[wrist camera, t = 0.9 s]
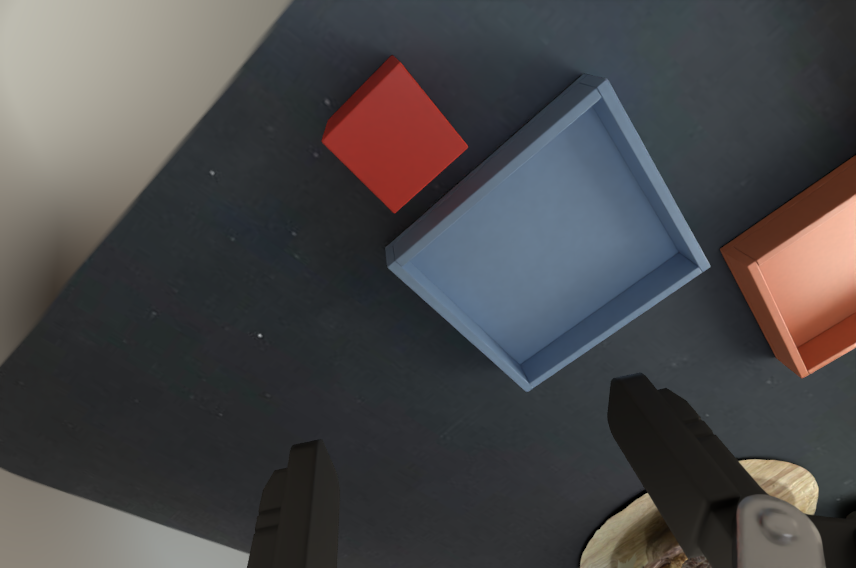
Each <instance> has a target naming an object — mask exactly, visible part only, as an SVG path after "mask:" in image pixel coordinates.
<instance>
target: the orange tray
mask: <svg viewBox="0 0 856 568" xmlns="http://www.w3.org/2000/svg"><path fill="white" fill-rule="evenodd" d="M720 251H721V253H722V255H723V257H724V259H725V261H726V263H727V264H728V266H729V268H730V270H731V272H732V274H733V276H734V278H735V280H736V282H737V284H738V286H739V288H740V289H741V291H742V293H743V295H744V297H745V299H746V301H747V303H748V305H749V307H750V309H751V311H752V313H753V314H754V316H755V318H756V320H757V322H758V324H759V326H760V328H761V330H762V332H763V334H764V336H765V338H766V339H767V341H768V343H769V345H770V347H771V349H772V351H773V353H774V355H775V357H776V358H777V359H778V360H779V361H781V362H782V363H783V364H784V365H785V366H787V367H788V368H789V369H790V370H792V371H793V372H794V373H795V374H797V375H798V376H799V377H800V378H804V377H806V376H807V375H809V374H811V373H813V372H814V371H816V370H818V369H820V368H821V367H823V366H825V365H826V364H828V363H830V362H832V361H833V360H835V359H837V358H839V357H840V356H842V355H844V354H845V353H847V352H849V351H851V350H852V349H854V348H856V155H855V156H854V157H852V158H851V159H849V160H848V161H846V162H845V163H843V164H842V165H841V166H839V167H838V168H836V169H835V170H833V171H832V172H830V173H829V174H828V175H826V176H825V177H823V178H822V179H820V180H819V181H817V182H816V183H815V184H813V185H812V186H810V187H809V188H807V189H806V190H804V191H803V192H802V193H800V194H799V195H797V196H796V197H794V198H793V199H791V200H790V201H788V202H787V203H786V204H784V205H783V206H781V207H780V208H778V209H777V210H775V211H774V212H773V213H771V214H770V215H768V216H767V217H765V218H764V219H762V220H761V221H760V222H758V223H757V224H755V225H754V226H752V227H751V228H749V229H748V230H747V231H745V232H744V233H742V234H741V235H739V236H738V237H736V238H735V239H734V240H732V241H731V242H729V243H728V244H726V245H725V246H723V247H722V248H721V249H720Z"/></svg>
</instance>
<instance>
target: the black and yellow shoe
mask: <svg viewBox="0 0 856 568" xmlns="http://www.w3.org/2000/svg"><path fill="white" fill-rule="evenodd" d="M846 518H847V519H852V520H856V511H854V512H852V513H850V514H849V515H848V516H847V517H846Z"/></svg>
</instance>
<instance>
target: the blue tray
mask: <svg viewBox="0 0 856 568" xmlns="http://www.w3.org/2000/svg"><path fill="white" fill-rule="evenodd" d="M385 251H386V260H387V267H388V268H389V269H390V270H391V271H392V272H393V273H394V274H395V275H396V276H397V277H399V278H400V279H401V280H402V281H403V282H404V283H405V284H406V285H408V286H409V287H410V288H411V289H412V290H413V291H414V292H415V293H416V294H418V295H419V296H420V297H421V298H422V299H423V300H424V301H425V302H426V303H428V304H429V305H430V306H431V307H432V308H433V309H434V310H435V311H437V312H438V313H439V314H440V315H441V316H442V317H443V318H444V319H445V320H447V321H448V322H449V323H450V324H451V325H452V326H453V327H454V328H456V329H457V330H458V331H459V332H460V333H461V334H462V335H463V336H464V337H466V338H467V339H468V340H469V341H470V342H471V343H472V344H473V345H474V346H476V347H477V348H478V349H479V350H480V351H481V352H482V353H483V354H485V355H486V356H487V357H488V358H489V359H490V360H491V361H492V362H493V363H495V364H496V365H497V366H498V367H499V368H500V369H501V370H502V371H504V372H505V373H506V374H507V375H508V376H509V377H510V378H511V379H512V380H514V381H515V382H516V383H517V384H518V385H519V386H520V387H521V388H522V389H524V390H525V391H526V392H528V391H530V390H531V389H533V387H535V386H537V385H538V384H540V383H541V382H543V381H544V380H546V379H547V378H549V377H550V376H552V375H553V374H554V373H556V372H557V371H559V370H560V369H562V368H563V367H565V366H566V365H568V364H569V363H571V362H572V361H573V360H575V359H576V358H578V357H579V356H581V355H582V354H584V353H585V352H587V351H588V350H590V349H591V348H592V347H594V346H595V345H597V344H598V343H600V342H601V341H603V340H604V339H606V338H607V337H609V336H610V335H611V334H613V333H614V332H616V331H617V330H619V329H620V328H622V327H623V326H625V325H626V324H628V323H629V322H630V321H632V320H633V319H635V318H636V317H638V316H639V315H641V314H642V313H644V312H645V311H647V310H648V309H649V308H651V307H652V306H654V305H655V304H657V303H658V302H660V301H661V300H663V299H664V298H666V297H667V296H668V295H670V294H671V293H673V292H674V291H676V290H677V289H679V288H680V287H682V286H683V285H685V284H686V283H687V282H689V281H690V280H692V279H693V278H695V277H696V276H698V275H699V274H701V273H702V272H704V271H705V270H707V269H708V268H709V267H711V266H710V264H709V262H708V260H707V259H706V257H705V255H704V253H703V251H702V250H701V248H700V246H699V244H698V242H697V240H696V239H695V237H694V235H693V233H692V231H691V230H690V228H689V226H688V224H687V222H686V221H685V219H684V217H683V215H682V213H681V211H680V210H679V208H678V206H677V204H676V202H675V201H674V199H673V197H672V195H671V193H670V191H669V190H668V188H667V186H666V184H665V182H664V181H663V179H662V177H661V175H660V173H659V172H658V170H657V168H656V166H655V164H654V162H653V161H652V159H651V157H650V155H649V153H648V152H647V150H646V148H645V146H644V144H643V142H642V141H641V139H640V137H639V135H638V133H637V132H636V130H635V128H634V126H633V124H632V123H631V121H630V119H629V117H628V115H627V113H626V112H625V110H624V108H623V106H622V104H621V103H620V101H619V99H618V97H617V95H616V94H615V92H614V90H613V88H612V86H611V84H610V83H609V81H608V79H607V78H602V77H597V76H593V75H588V74H583V75H582V76H580V77H579V78H578V79H577V80H576V81H575V82H574V83H573V84H571V85H570V86H569V87H568V88H567V89H566V90H565V91H563V92H562V93H561V94H560V95H559V96H558V97H557V98H555V99H554V100H553V101H552V102H551V103H550V104H549V105H547V106H546V107H545V108H544V109H543V110H542V111H541V112H539V113H538V114H537V115H536V116H535V117H534V118H533V119H531V120H530V121H529V122H528V123H527V124H526V125H525V126H523V127H522V128H521V129H520V130H519V131H518V132H517V133H515V134H514V135H513V136H512V137H511V138H510V139H509V140H507V141H506V142H505V143H504V144H503V145H502V146H501V147H499V148H498V149H497V150H496V151H495V152H494V153H493V154H491V155H490V156H489V157H488V158H487V159H486V160H485V161H483V162H482V163H481V164H480V165H479V166H478V167H477V168H475V169H474V170H473V171H472V172H471V173H470V174H469V175H467V176H466V177H465V178H464V179H463V180H462V181H461V182H459V183H458V184H457V185H456V186H455V187H454V188H453V189H452V190H450V191H449V192H448V193H447V194H446V195H445V196H444V197H442V198H441V199H440V200H439V201H438V202H437V203H436V204H434V205H433V206H432V207H431V208H430V209H429V210H428V211H426V212H425V213H424V214H423V215H422V216H421V217H420V218H418V219H417V220H416V221H415V222H414V223H413V224H412V225H410V226H409V227H408V228H407V229H406V230H405V231H404V232H402V233H401V234H400V235H399V236H398V237H397V238H396V239H394V240H393V241H392V242H391V243H390V244H389V245H388V246H386V247H385Z"/></svg>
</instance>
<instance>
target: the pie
mask: <svg viewBox="0 0 856 568" xmlns="http://www.w3.org/2000/svg"><path fill="white" fill-rule="evenodd" d="M739 463H740V464H741V465H742V466H743V467H744V468H745V469H746V471H747V472H748V473H749V474H750V475H751V476H752V478H753V479H754V480H755V481H756V482H757V483H758V485H759V486H760V487H761V488H762V489H763V490H764V491H765V492H766V493H768V494H769V495H770V496H773V497H777V498H779V499H782V500H784V501H786V502H788V503H790V504H792V505H793V506H795V507H796V508H798V509H799V510H800V511H802V512H803V513H805V514H809V515H813V514H814V513H815V510H816V503H817V498H818V491H819V489H818V486H817V483H816V481H815V478H814V477H813V476H812V475H811V474H810V473H809V472H808V471H807V470H806V469H804V468H802V467H800V466H798V465H795V464H792V463H788V462H784V461H777V460H761V459H750V460H749V459H748V460H742V461H739ZM580 568H712V567H711V565H710V564H709V562H708V560H707V559H706V557H705V556H704V555H703V556H699V557H695V558H690V559H688V558H687V556H686V555H685V553H684V552H683V550H682V548H681V547H680V545H679V543H678V542H677V540H676V538H675V537H674V535H673V534H672V532H671V530H670V529H669V527H668V525H667V524H666V522H665V520H664V519H663V517H662V516H661V514H660V512H659V511H658V509H657V507H656V506H655V504H654V502H653V501H652V499H651V498H650V496H649V494H648V493H646V494H644V495H643V496H641V497H640V498H638V499H637V500H635V501H634V502H632V503H631V504H630V505H628V507H626V508H625V509H624V510H622V511H621V512H619V513H617V514H616V515H615V516H612V517H611V518H610V519H608V520H607V521H606V523H605V524H604V525H603V526H601V528H600V529H599V530H597V531H596V532H595V534H594V536H593V538H592V539H591V540H590V541H589V543H588V545H587V547H586V549H585V550H584V552H583V554H582V557H581V562H580Z"/></svg>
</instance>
